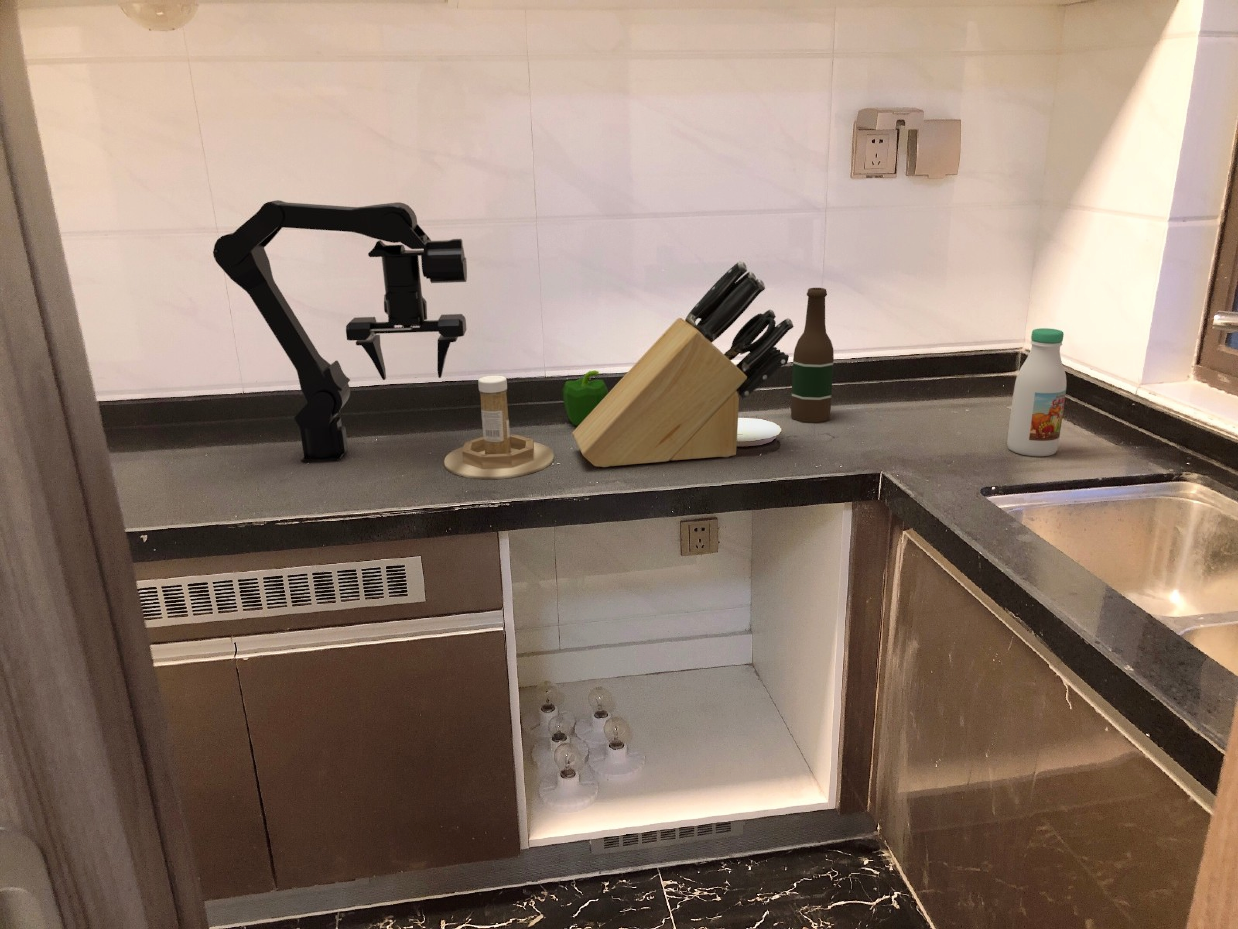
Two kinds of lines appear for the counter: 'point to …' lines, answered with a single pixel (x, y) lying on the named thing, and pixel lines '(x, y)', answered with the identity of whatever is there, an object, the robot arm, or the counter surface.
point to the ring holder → (499, 459)
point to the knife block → (687, 383)
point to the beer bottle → (813, 365)
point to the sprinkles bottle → (494, 414)
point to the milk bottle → (1039, 397)
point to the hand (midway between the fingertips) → (412, 378)
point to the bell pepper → (583, 397)
